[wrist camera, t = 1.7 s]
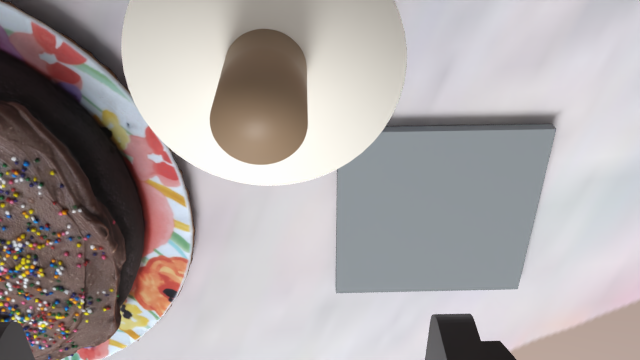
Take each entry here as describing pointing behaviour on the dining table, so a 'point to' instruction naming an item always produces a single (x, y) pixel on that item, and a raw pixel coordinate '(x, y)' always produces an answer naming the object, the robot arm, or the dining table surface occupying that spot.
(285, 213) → the dining table surface
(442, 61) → the dining table surface
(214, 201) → the dining table surface
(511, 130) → the mat
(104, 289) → the chocolate cake
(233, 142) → the cover
